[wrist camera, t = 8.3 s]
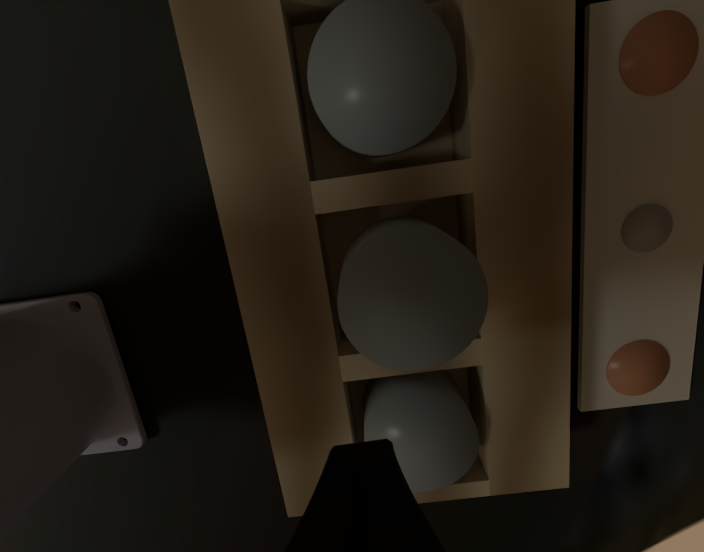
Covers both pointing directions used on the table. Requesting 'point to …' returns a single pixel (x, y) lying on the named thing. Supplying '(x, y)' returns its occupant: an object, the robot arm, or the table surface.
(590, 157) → the pattern card
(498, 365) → the wooden tray
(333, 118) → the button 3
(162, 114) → the table surface
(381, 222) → the button
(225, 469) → the table surface
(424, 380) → the button
